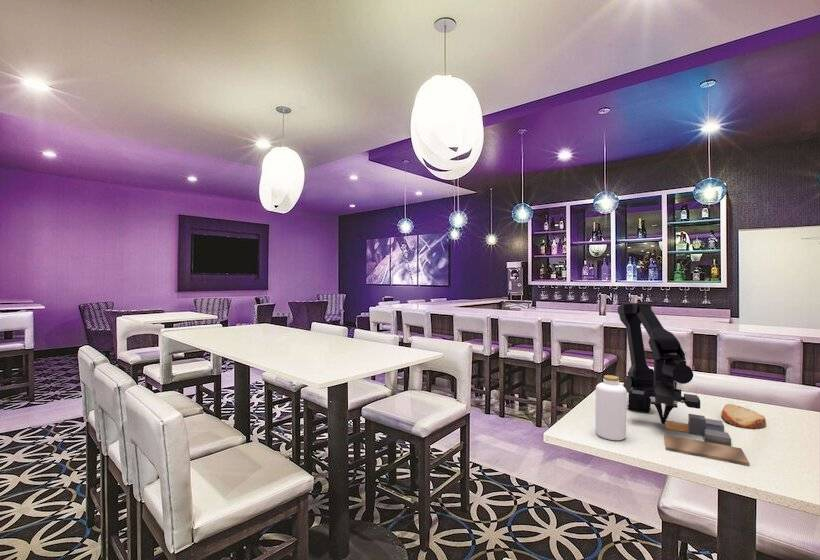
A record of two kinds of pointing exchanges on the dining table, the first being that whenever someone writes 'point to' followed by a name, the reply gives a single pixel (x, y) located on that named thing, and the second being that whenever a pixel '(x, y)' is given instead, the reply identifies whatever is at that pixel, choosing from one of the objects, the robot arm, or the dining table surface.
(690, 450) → the walnut board
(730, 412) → the slice of bread
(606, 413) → the potion bottle
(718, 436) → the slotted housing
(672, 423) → the plug
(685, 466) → the dining table surface
